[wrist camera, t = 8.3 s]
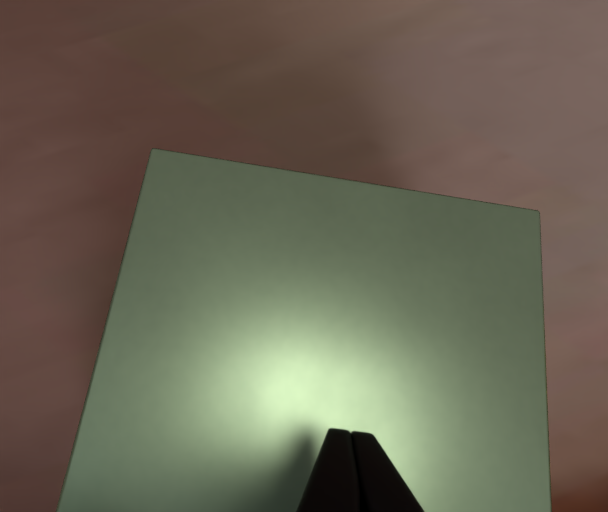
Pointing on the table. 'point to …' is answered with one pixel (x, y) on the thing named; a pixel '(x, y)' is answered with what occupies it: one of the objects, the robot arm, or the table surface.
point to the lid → (314, 345)
